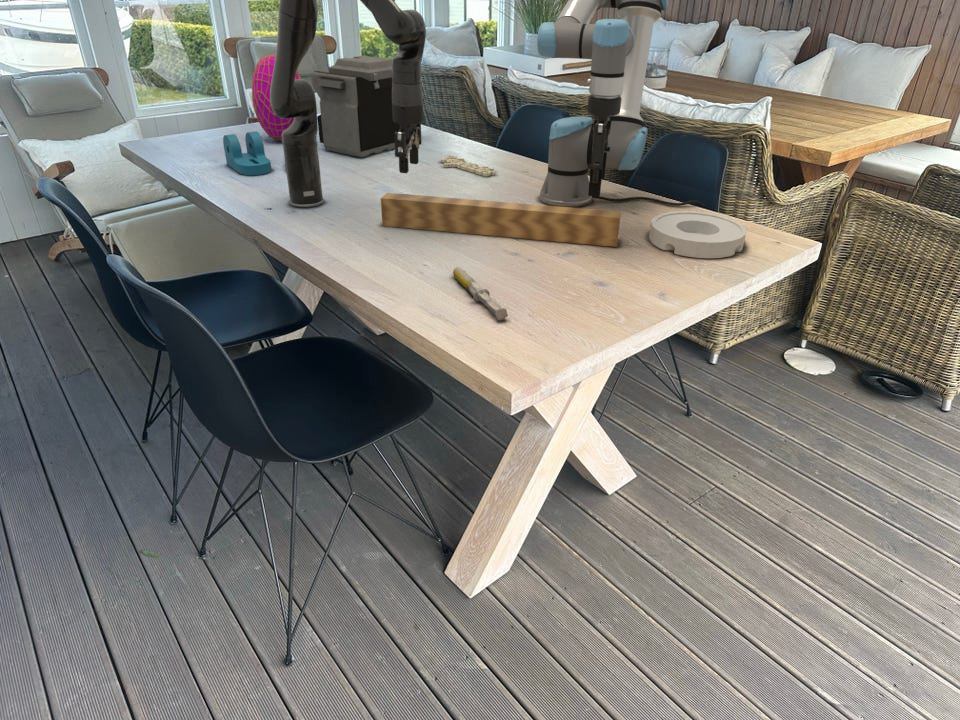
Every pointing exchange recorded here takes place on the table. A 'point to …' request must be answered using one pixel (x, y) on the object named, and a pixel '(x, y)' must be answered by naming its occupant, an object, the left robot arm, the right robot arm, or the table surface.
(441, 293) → the table surface
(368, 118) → the cooler box
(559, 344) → the table surface
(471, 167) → the decorative sign
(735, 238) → the ashtray
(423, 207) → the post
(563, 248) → the table surface
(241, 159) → the camera mount
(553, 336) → the table surface
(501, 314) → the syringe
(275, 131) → the decorative egg
